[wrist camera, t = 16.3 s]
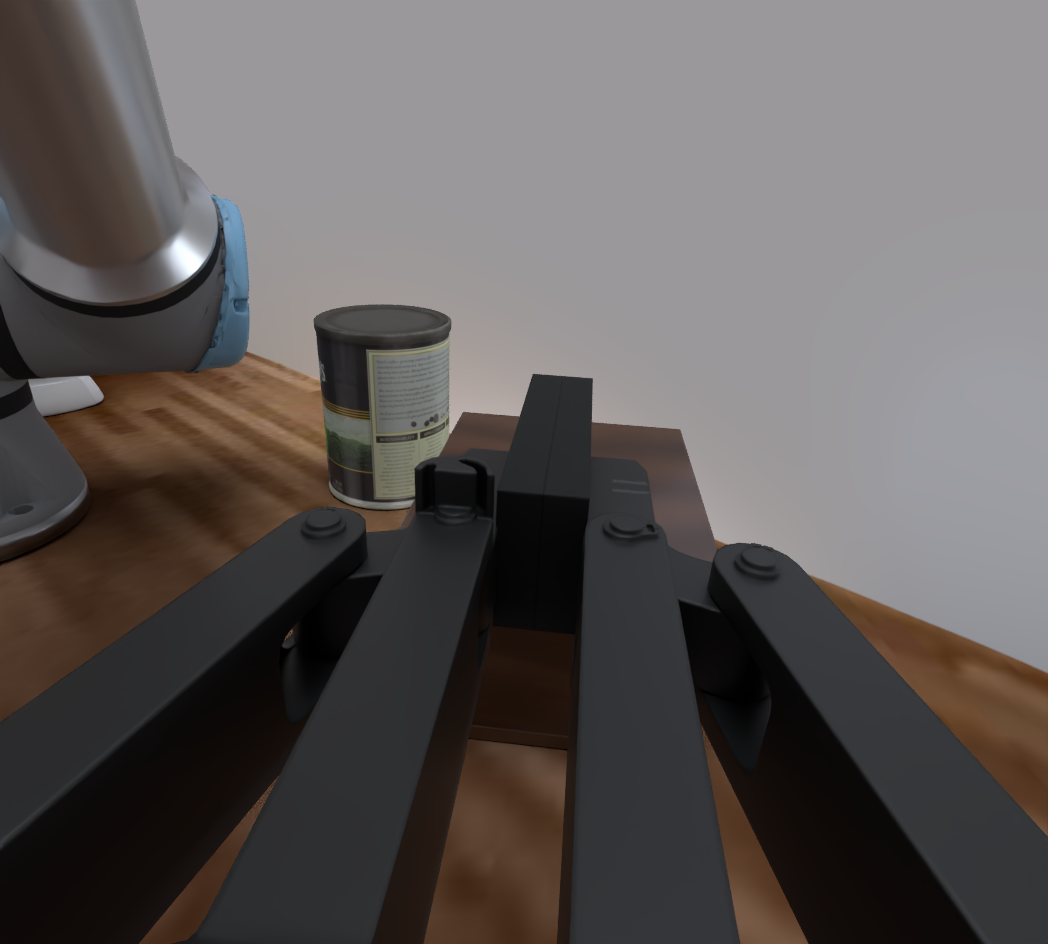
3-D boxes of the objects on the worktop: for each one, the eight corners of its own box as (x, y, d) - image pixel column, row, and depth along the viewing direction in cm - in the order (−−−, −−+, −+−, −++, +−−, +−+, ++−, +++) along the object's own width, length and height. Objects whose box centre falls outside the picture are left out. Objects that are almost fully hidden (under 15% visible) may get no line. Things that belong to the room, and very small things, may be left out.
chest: (459, 549, 47) (460, 427, 43) (660, 568, 46) (680, 445, 42) (394, 730, 32) (385, 567, 28) (690, 764, 31) (725, 601, 27)
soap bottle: (-24, 437, 61) (-121, 143, 50) (-34, 413, 66) (-124, 141, 55) (132, 410, 69) (75, 151, 59) (112, 390, 74) (57, 149, 64)
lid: (462, 422, 44) (462, 411, 44) (678, 440, 43) (680, 428, 43) (385, 567, 28) (385, 551, 28) (726, 600, 27) (729, 584, 27)
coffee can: (310, 506, 52) (291, 328, 46) (349, 454, 61) (338, 300, 55) (439, 515, 52) (438, 337, 46) (459, 461, 61) (460, 308, 55)
